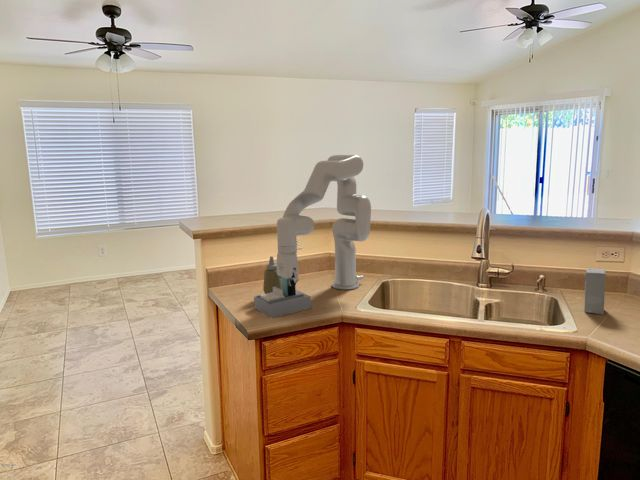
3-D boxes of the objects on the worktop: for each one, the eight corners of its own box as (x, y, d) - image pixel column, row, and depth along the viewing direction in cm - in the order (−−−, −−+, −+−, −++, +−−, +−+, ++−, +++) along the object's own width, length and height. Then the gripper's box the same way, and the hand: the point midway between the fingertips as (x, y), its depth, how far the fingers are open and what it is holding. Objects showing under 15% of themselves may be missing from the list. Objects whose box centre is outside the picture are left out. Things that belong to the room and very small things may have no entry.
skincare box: (603, 315, 173) (607, 274, 170) (581, 312, 177) (585, 271, 174) (604, 308, 180) (608, 269, 177) (582, 305, 184) (586, 267, 181)
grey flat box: (292, 299, 197) (292, 286, 196) (310, 308, 186) (310, 294, 185) (254, 308, 187) (253, 294, 186) (271, 318, 176) (270, 303, 175)
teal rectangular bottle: (290, 298, 190) (289, 269, 188) (295, 300, 187) (294, 271, 185) (282, 299, 188) (280, 271, 186) (287, 302, 185) (286, 273, 183)
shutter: (275, 294, 188) (275, 286, 187) (284, 298, 182) (284, 290, 182) (260, 297, 184) (260, 289, 183) (268, 301, 178) (268, 293, 178)
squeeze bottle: (279, 300, 196) (277, 259, 193) (261, 299, 198) (259, 258, 194) (284, 294, 204) (283, 254, 201) (267, 293, 206) (265, 254, 202)
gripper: (268, 247, 188) (270, 290, 192) (290, 254, 175) (291, 300, 178) (284, 244, 193) (286, 287, 196) (306, 251, 179) (307, 296, 183)
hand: (288, 293), depth 187 cm, fingers open, 4 cm apart
